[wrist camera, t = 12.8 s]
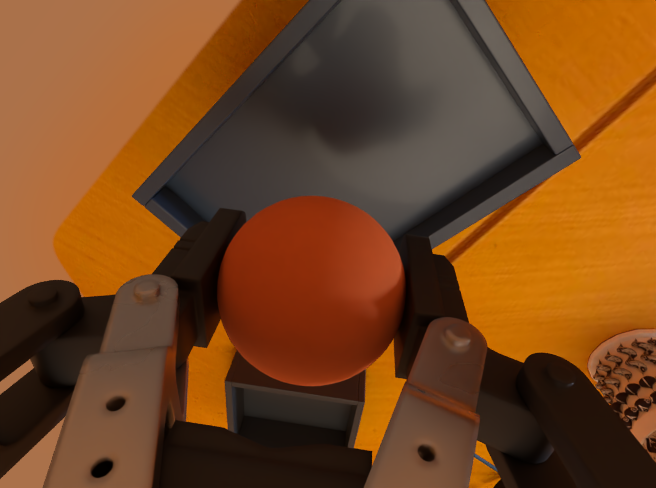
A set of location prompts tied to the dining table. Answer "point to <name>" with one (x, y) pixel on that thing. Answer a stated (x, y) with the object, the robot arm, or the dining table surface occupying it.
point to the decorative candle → (629, 381)
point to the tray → (371, 122)
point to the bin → (292, 408)
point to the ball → (311, 290)
